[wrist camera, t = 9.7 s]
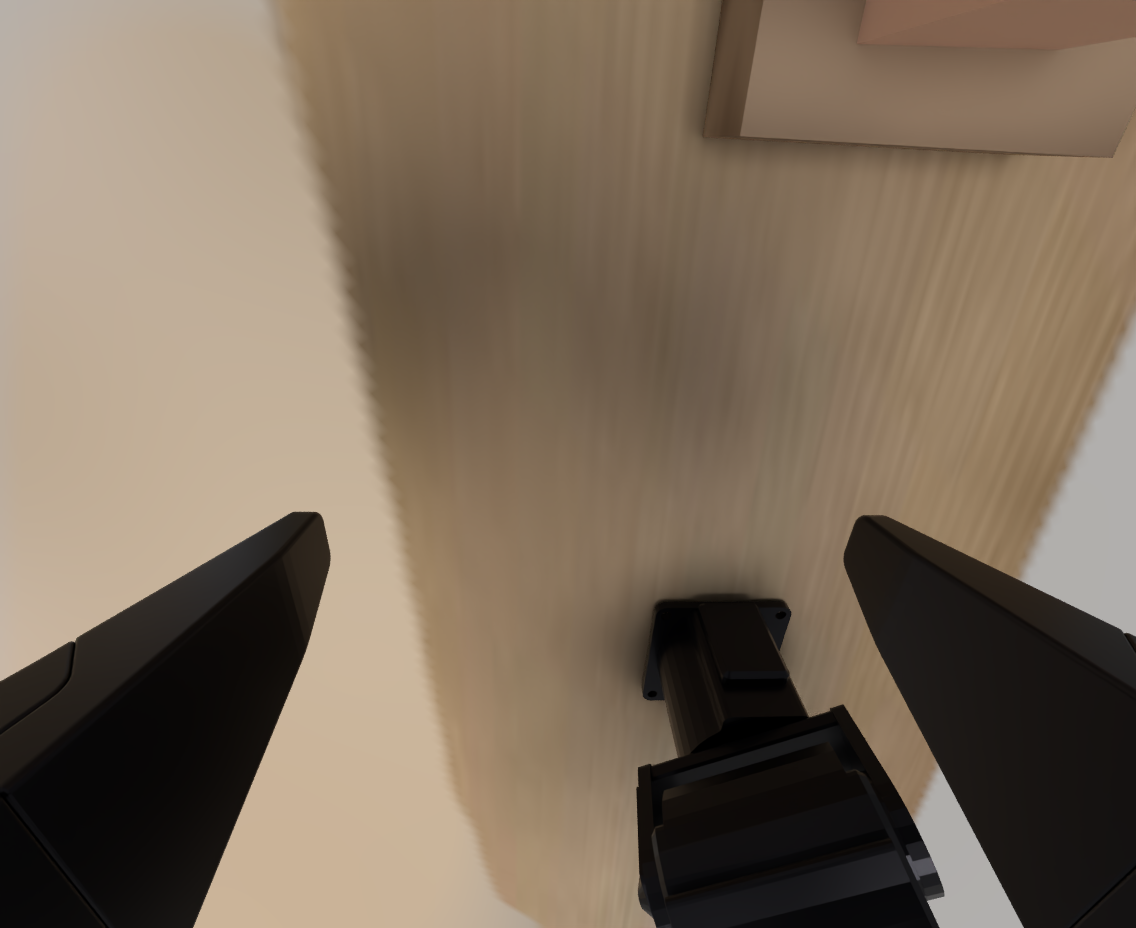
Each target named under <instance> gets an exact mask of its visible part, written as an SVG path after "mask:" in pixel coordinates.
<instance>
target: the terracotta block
mask: <svg viewBox="0 0 1136 928" xmlns="http://www.w3.org/2000/svg"><path fill="white" fill-rule="evenodd" d="M1132 37H1136V0H866V3H865V7H864V12H863V17H862V21H861V26H860V30H859V35H858V39H857V44H869V45H904V46H939V47H975V48H1011V49H1047V50H1061V49H1067V48H1073V47H1079V46H1085V45H1090V44H1096V43H1102V42H1108V41H1114V40H1120V39H1126V38H1132Z"/></svg>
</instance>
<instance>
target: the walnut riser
mask: <svg viewBox="0 0 1136 928" xmlns="http://www.w3.org/2000/svg"><path fill="white" fill-rule="evenodd" d="M865 3H866V0H723V1H722V8H721V15H720V22H719V29H718V36H717V43H716V49H715V56H714V63H713V70H712V77H711V84H710V91H709V98H708V105H707V112H706V119H705V126H704V132H703V137H711V138H728V139H746V140H763V141H781V142H798V143H816V144H833V145H851V146H868V147H886V148H903V149H921V150H938V151H956V152H973V153H991V154H1008V155H1039V156H1073V157H1108V158H1113V156H1114V154H1115V151H1116V149H1117V147H1118V145H1119V143H1120V141H1121V138H1122V136H1123V134H1124V132H1125V130H1126V128H1127V126H1128V123H1129V121H1130V119H1131V117H1132V115H1133V113H1134V111H1135V108H1136V37H1132V38H1126V39H1120V40H1114V41H1108V42H1102V43H1096V44H1090V45H1085V46H1079V47H1073V48H1067V49H1061V50H1047V49H1011V48H975V47H939V46H904V45H869V44H857V39H858V35H859V30H860V26H861V21H862V17H863V12H864V7H865Z"/></svg>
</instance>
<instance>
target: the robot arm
mask: <svg viewBox="0 0 1136 928" xmlns="http://www.w3.org/2000/svg"><path fill="white" fill-rule="evenodd" d="M329 566H330V549H329V544H328V540H327V535H326V531H325V526H324V521H323V518H322V516H321V515H320V514H319V513H317V512H292V513H290V514H288V515H287V516H285V517H283V518H282V519H280V520H278V521H276V522H275V523H273V524H271V525H270V526H268V527H266V528H264V529H263V530H261V531H259V532H258V533H256V534H254V535H253V536H251V537H249V538H247V539H246V540H244V541H242V542H240V543H239V544H237V545H235V546H233V547H232V548H230V549H228V550H227V551H225V552H223V553H222V554H220V555H218V556H216V557H215V558H213V559H211V560H209V561H208V562H206V563H204V564H203V565H201V566H199V567H197V568H196V569H194V570H193V571H191V572H189V573H187V574H185V575H184V576H182V577H180V578H179V579H177V580H175V581H173V582H172V583H170V584H168V585H167V586H165V587H163V588H161V589H160V590H158V591H156V592H155V593H153V594H151V595H149V596H148V597H146V598H144V599H143V600H141V601H139V602H137V603H136V604H134V605H132V606H130V607H129V608H127V609H125V610H124V611H122V612H120V613H118V614H117V615H115V616H114V617H111V618H110V619H108V620H106V621H105V622H103V623H101V624H99V625H98V626H96V627H94V628H93V629H91V630H89V631H87V632H86V633H84V634H82V635H81V636H79V637H77V639H76V641H75V642H72V641H71V642H68V643H67V644H65V645H63V646H62V647H60V648H58V649H57V650H55V651H53V652H51V653H50V654H48V655H46V656H44V657H43V658H41V659H40V660H38V661H36V662H34V663H32V664H30V665H29V666H27V667H25V668H23V669H22V670H20V671H18V672H16V673H15V674H13V675H11V676H9V677H7V678H6V679H4V680H2V681H0V928H193V927H194V924H195V922H196V919H197V917H198V914H199V912H200V910H201V907H202V905H203V902H204V899H205V897H206V895H207V892H208V890H209V888H210V885H211V883H212V880H213V878H214V875H215V873H216V870H217V868H218V865H219V863H220V860H221V858H222V855H223V853H224V851H225V848H226V846H227V843H228V841H229V839H230V836H231V834H232V831H233V829H234V826H235V824H236V821H237V819H238V816H239V814H240V812H241V809H242V807H243V804H244V802H245V799H246V797H247V794H248V792H249V789H250V787H251V785H252V782H253V780H254V777H255V775H256V772H257V770H258V768H259V765H260V763H261V760H262V758H263V755H264V753H265V750H266V748H267V746H268V743H269V741H270V738H271V736H272V733H273V731H274V728H275V726H276V724H277V721H278V719H279V716H280V714H281V711H282V709H283V706H284V704H285V701H286V699H287V697H288V694H289V692H290V689H291V687H292V684H293V682H294V679H295V677H296V674H297V672H298V670H299V667H300V665H301V662H302V660H303V657H304V654H305V652H306V649H307V646H308V642H309V639H310V636H311V632H312V629H313V625H314V621H315V618H316V614H317V610H318V607H319V603H320V600H321V596H322V592H323V589H324V585H325V581H326V578H327V574H328V571H329ZM844 566H845V569H846V572H847V574H848V577H849V579H850V582H851V584H852V587H853V589H854V592H855V594H856V597H857V599H858V602H859V605H860V607H861V610H862V612H863V615H864V617H865V620H866V622H867V625H868V627H869V630H870V632H871V634H872V637H873V639H874V641H875V644H876V646H877V648H878V650H879V652H880V654H881V656H882V658H883V660H884V662H885V664H886V666H887V667H888V669H889V671H890V673H891V675H892V677H893V679H894V681H895V683H896V685H897V687H898V688H899V690H900V692H901V694H902V696H903V698H904V700H905V702H906V704H907V706H908V708H909V709H910V711H911V713H912V715H913V717H914V719H915V721H916V723H917V725H918V727H919V729H920V730H921V732H922V734H923V736H924V738H925V740H926V742H927V744H928V746H929V748H930V750H931V751H932V753H933V755H934V757H935V759H936V761H937V763H938V765H939V767H940V769H941V771H942V772H943V774H944V776H945V778H946V780H947V782H948V784H949V786H950V788H951V789H952V792H953V793H954V795H955V797H956V799H957V801H958V803H959V805H960V807H961V809H962V811H963V812H964V814H965V816H966V818H967V820H968V822H969V824H970V826H971V827H972V829H973V832H974V833H975V835H976V837H977V839H978V841H979V843H980V845H981V847H982V849H983V851H984V853H985V854H986V856H987V858H988V860H989V862H990V864H991V866H992V868H993V870H994V871H995V874H996V875H997V877H998V879H999V881H1000V883H1001V885H1002V887H1003V889H1004V891H1005V893H1006V894H1007V896H1008V898H1009V900H1010V902H1011V904H1012V906H1013V908H1014V910H1015V912H1016V914H1017V915H1018V917H1019V919H1020V921H1021V923H1022V925H1023V927H1024V928H1136V636H1133V635H1131V634H1129V633H1123V632H1122V630H1121V629H1119V628H1117V627H1115V626H1113V625H1110V624H1108V623H1106V622H1104V621H1102V620H1100V619H1098V618H1096V617H1094V616H1092V615H1090V614H1088V613H1086V612H1084V611H1082V610H1079V609H1077V608H1075V607H1073V606H1071V605H1069V604H1067V603H1065V602H1063V601H1061V600H1059V599H1057V598H1055V597H1053V596H1051V595H1048V594H1046V593H1044V592H1042V591H1040V590H1038V589H1036V588H1034V587H1032V586H1030V585H1028V584H1026V583H1024V582H1022V581H1020V580H1018V579H1015V578H1013V577H1011V576H1009V575H1007V574H1005V573H1003V572H1001V571H999V570H997V569H995V568H993V567H991V566H989V565H987V564H984V563H982V562H980V561H978V560H976V559H974V558H972V557H970V556H968V555H966V554H964V553H962V552H960V551H958V550H956V549H954V548H951V547H949V546H947V545H945V544H943V543H941V542H939V541H937V540H935V539H933V538H931V537H929V536H927V535H925V534H923V533H920V532H918V531H916V530H914V529H912V528H910V527H908V526H906V525H904V524H902V523H900V522H898V521H896V520H894V519H892V518H889V517H887V516H883V515H863V516H861V517H859V518H858V519H857V520H856V522H855V524H854V527H853V529H852V532H851V535H850V538H849V540H848V543H847V546H846V549H845V552H844ZM664 612H668V613H665V614H662V613H664ZM778 612H780V613H778ZM790 617H791V611H790V609H789V607H788V605H787V604H786V603H785V602H780V601H770V602H662V603H660V604H658V605H657V606H656V607H655V609H654V613H653V619H652V626H651V632H650V638H649V644H648V651H647V657H646V663H645V670H644V676H643V682H642V693H643V697H644V698H645V699H647V700H665V703H666V707H667V712H668V716H669V720H670V725H671V729H672V733H673V738H674V742H675V746H676V751H677V755H678V758H676V759H672V760H669V761H666V762H663V763H659V764H656V765H653V766H652V765H651V764H648V765H645V766H641V767H638V785H639V787H637V789H636V790H637V819H638V848H639V874H640V878H639V885H638V897H639V901H640V905H641V907H642V909H643V910H644V911H645V912H647V913H648V914H649V915H650V916H651V917H652V918H653V919H654V922H655V924H656V928H939V926H938V924H937V922H936V919H935V917H934V915H933V913H932V911H931V909H930V907H929V904H928V903H927V900H932V899H936V898H939V897H944V890H943V886H942V884H941V881H940V878H939V876H938V873H937V870H936V868H935V866H934V864H933V861H932V859H931V857H930V854H929V852H928V850H927V848H926V846H925V844H924V841H923V840H922V838H921V836H920V833H919V831H918V829H917V827H916V825H915V823H914V821H913V819H912V817H911V816H910V814H909V812H908V810H907V808H906V806H905V804H904V802H903V801H902V799H901V797H900V795H899V793H898V792H897V790H896V788H895V787H894V785H893V783H892V782H891V780H890V778H889V777H888V775H887V774H886V772H885V770H884V769H883V767H882V766H881V764H880V762H879V761H878V759H877V758H876V756H875V754H874V753H873V751H872V750H871V748H870V746H869V745H868V743H867V742H866V740H865V738H864V737H863V735H862V734H861V732H860V730H859V729H858V727H857V725H856V724H855V722H854V721H853V719H852V717H851V716H850V714H849V713H848V711H847V709H846V708H845V706H844V705H839V706H836V707H833V708H830V711H828V712H825V713H822V714H819V715H815V716H812V717H809V716H808V714H807V712H806V710H805V707H804V705H803V703H802V701H801V699H800V697H799V695H798V693H797V691H796V688H795V686H794V684H793V682H792V680H791V678H790V675H789V671H788V669H787V667H786V665H785V662H784V660H783V658H782V656H781V654H780V652H779V651H780V648H781V645H782V642H783V638H784V635H785V632H786V629H787V626H788V623H789V620H790Z"/></svg>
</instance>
